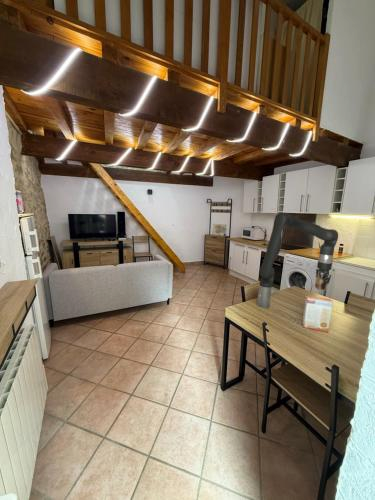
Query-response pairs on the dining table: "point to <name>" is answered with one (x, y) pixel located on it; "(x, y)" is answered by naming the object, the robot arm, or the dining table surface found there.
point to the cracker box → (317, 313)
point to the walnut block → (319, 283)
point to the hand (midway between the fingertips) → (320, 287)
